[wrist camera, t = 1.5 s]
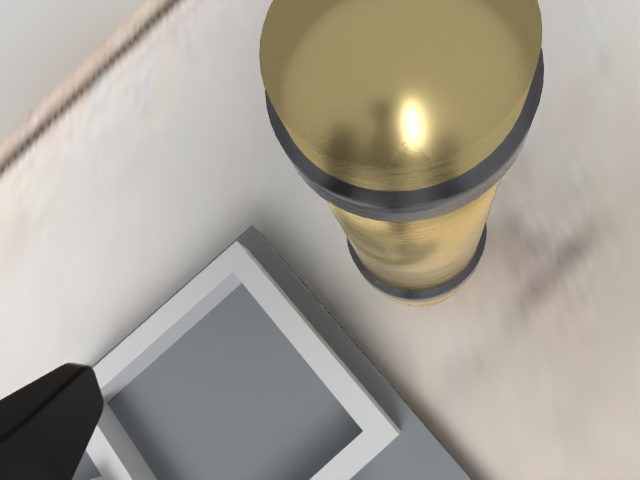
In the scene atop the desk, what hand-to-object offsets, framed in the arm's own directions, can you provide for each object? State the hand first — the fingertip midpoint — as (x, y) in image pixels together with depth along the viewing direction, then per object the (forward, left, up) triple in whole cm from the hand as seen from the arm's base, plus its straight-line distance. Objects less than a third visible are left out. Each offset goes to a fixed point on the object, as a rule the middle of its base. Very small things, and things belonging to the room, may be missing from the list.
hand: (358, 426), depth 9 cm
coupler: (+4, -4, -12) cm, 13 cm away
